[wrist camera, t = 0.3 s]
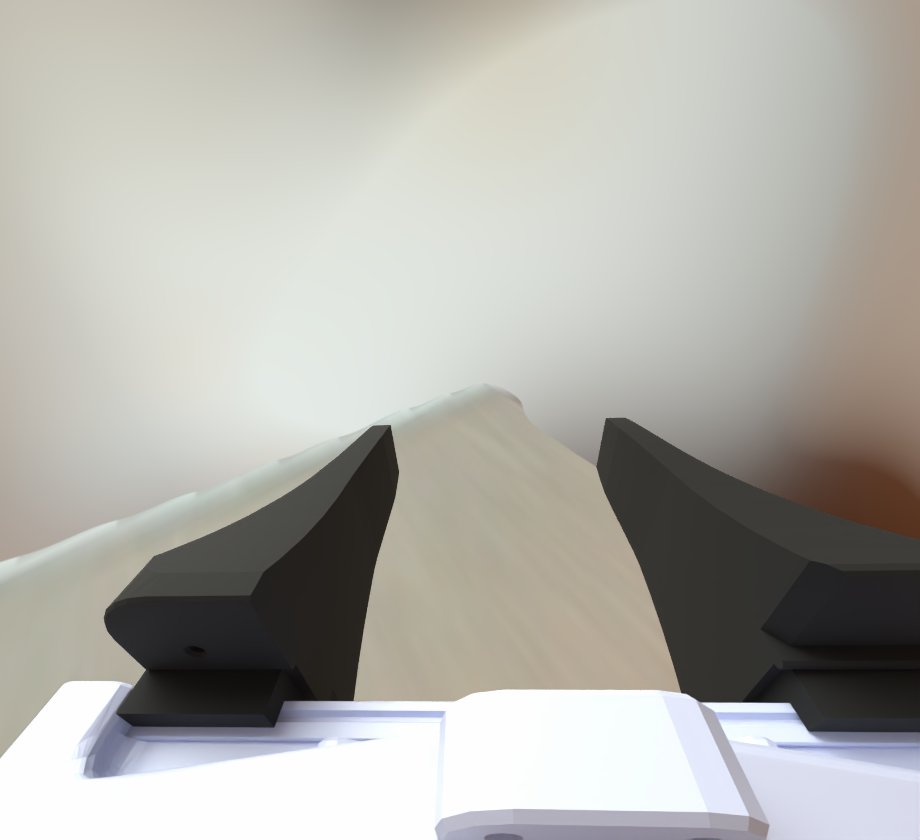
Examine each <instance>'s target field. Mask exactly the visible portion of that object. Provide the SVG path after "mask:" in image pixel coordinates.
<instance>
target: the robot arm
mask: <svg viewBox="0 0 920 840" xmlns="http://www.w3.org/2000/svg"><path fill="white" fill-rule="evenodd" d="M597 470H598V474H599V477H600V480H601V483H602V486H603V489H604V492H605V494H606V496H607V499H608V501H609V503H610V505H611V507H612V509H613V511H614V513H615V515H616V517H617V519H618V521H619V523H620V525H621V527H622V529H623V531H624V533H625V535H626V537H627V539H628V541H629V543H630V545H631V547H632V549H633V551H634V553H635V556H636V558H637V560H638V562H639V565H640V567H641V570H642V573H643V575H644V578H645V581H646V584H647V586H648V589H649V592H650V594H651V597H652V600H653V603H654V606H655V609H656V612H657V615H658V618H659V621H660V624H661V627H662V630H663V633H664V636H665V639H666V643H667V646H668V649H669V652H670V656H671V659H672V662H673V665H674V669H675V672H676V676H677V679H678V683H679V686H680V690H681V693H675V692H667V691H659V690H498V691H490V692H481V693H473V694H471V695H469V696H467V697H464V698H462V699H460V700H458V701H456V702H405V701H354V693H355V685H356V678H357V670H358V663H359V656H360V650H361V643H362V637H363V630H364V624H365V618H366V612H367V607H368V601H369V595H370V590H371V585H372V579H373V574H374V569H375V565H376V561H377V557H378V553H379V550H380V546H381V543H382V540H383V537H384V533H385V530H386V527H387V523H388V520H389V517H390V513H391V510H392V507H393V503H394V500H395V495H396V489H397V483H398V476H399V469H398V464H397V458H396V453H395V447H394V442H393V436H392V431H391V425H379V426H372V427H371V428H369V429H368V430H367V431H366V432H365V433H364V434H363V435H361V436H360V437H359V438H358V439H357V440H356V441H355V442H354V443H353V444H351V445H350V446H349V447H348V448H347V449H346V450H345V451H343V452H342V453H341V454H340V455H339V456H338V457H336V458H335V459H334V460H333V461H331V462H330V463H329V464H328V465H326V466H325V467H324V468H323V469H321V470H320V471H319V472H318V473H316V474H315V475H314V476H312V477H311V478H310V479H308V480H307V481H305V482H304V483H303V484H301V485H300V486H298V487H297V488H295V489H293V490H292V491H290V492H289V493H287V494H286V495H284V496H283V497H281V498H279V499H277V500H276V501H274V502H272V503H270V504H269V505H267V506H265V507H263V508H261V509H260V510H258V511H256V512H254V513H253V514H251V515H249V516H247V517H245V518H243V519H241V520H239V521H237V522H235V523H233V524H231V525H228V526H226V527H224V528H222V529H220V530H218V531H215V532H213V533H211V534H209V535H206V536H204V537H202V538H199V539H197V540H194V541H192V542H189V543H187V544H184V545H182V546H179V547H177V548H174V549H172V550H169V551H167V552H164V553H162V554H159V555H156V556H154V557H153V558H152V559H151V560H150V561H149V563H148V564H147V565H146V566H145V567H144V568H143V569H142V570H141V571H140V573H139V574H138V575H137V576H136V577H135V578H134V579H133V580H132V581H131V582H130V584H129V585H128V586H127V587H126V588H125V589H124V590H123V591H122V592H121V594H120V595H119V596H118V597H117V598H116V599H115V600H114V601H113V602H112V604H111V605H110V606H109V607H108V608H107V609H106V612H105V615H104V622H105V625H106V628H107V631H108V633H109V634H110V635H111V636H112V637H113V639H114V640H115V641H116V642H117V643H118V644H119V645H120V646H121V647H123V648H124V649H125V650H126V651H127V652H128V653H129V654H130V655H131V656H132V657H133V658H134V659H135V660H136V661H137V662H139V663H140V664H141V665H142V666H143V667H144V668H145V669H146V671H145V672H144V674H143V675H142V677H141V678H140V680H139V681H138V682H137V684H136V685H135V687H134V686H132V685H130V684H126V683H123V682H114V681H71V682H68V683H65V684H64V685H63V686H62V687H61V688H60V689H59V690H58V692H57V693H56V694H55V695H54V696H53V698H52V699H51V700H50V701H49V702H48V703H47V705H46V706H45V707H44V708H43V709H42V710H41V712H40V713H39V714H38V715H37V716H36V717H35V719H34V720H33V721H32V722H31V723H30V725H29V726H28V727H27V728H26V729H25V730H24V732H23V733H22V734H21V735H20V736H19V737H18V739H17V740H16V741H15V742H14V743H13V744H12V746H11V747H10V748H9V749H8V750H7V752H6V753H5V754H4V755H3V756H2V757H1V759H0V840H920V540H918V539H914V538H910V537H907V536H903V535H899V534H896V533H892V532H888V531H884V530H881V529H877V528H873V527H869V526H866V525H862V524H859V523H856V522H853V521H849V520H846V519H843V518H840V517H836V516H833V515H830V514H827V513H824V512H821V511H818V510H815V509H812V508H809V507H806V506H803V505H800V504H798V503H795V502H792V501H790V500H787V499H784V498H782V497H779V496H776V495H774V494H771V493H768V492H766V491H763V490H761V489H759V488H756V487H754V486H752V485H749V484H747V483H745V482H743V481H740V480H738V479H736V478H734V477H732V476H729V475H727V474H725V473H723V472H721V471H719V470H717V469H715V468H713V467H711V466H709V465H707V464H705V463H703V462H701V461H699V460H698V459H696V458H694V457H692V456H690V455H688V454H687V453H685V452H683V451H681V450H680V449H678V448H676V447H675V446H673V445H671V444H669V443H667V442H666V441H664V440H663V439H661V438H659V437H658V436H656V435H654V434H653V433H651V432H650V431H648V430H646V429H644V428H643V427H641V426H639V425H638V424H636V423H634V422H632V421H630V420H629V419H626V418H606V421H605V426H604V432H603V436H602V441H601V446H600V452H599V457H598V462H597Z"/></svg>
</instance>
